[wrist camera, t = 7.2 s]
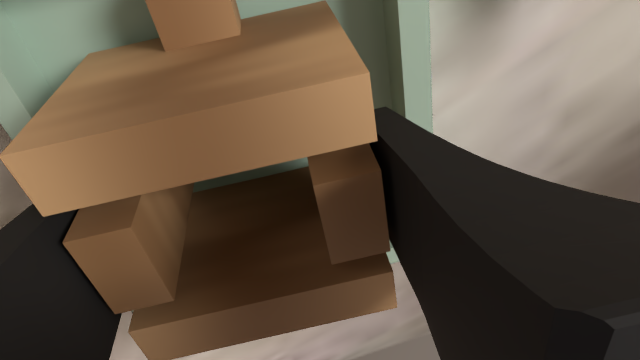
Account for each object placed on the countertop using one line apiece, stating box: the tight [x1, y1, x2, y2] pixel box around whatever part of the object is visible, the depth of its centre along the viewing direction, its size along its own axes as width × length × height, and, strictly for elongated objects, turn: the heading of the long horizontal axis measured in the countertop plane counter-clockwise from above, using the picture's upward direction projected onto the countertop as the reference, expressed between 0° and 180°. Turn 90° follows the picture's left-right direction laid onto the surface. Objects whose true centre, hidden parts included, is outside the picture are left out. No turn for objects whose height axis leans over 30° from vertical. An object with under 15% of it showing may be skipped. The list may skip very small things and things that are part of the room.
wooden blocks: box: [0, 0, 397, 360], centre depth 9 cm, size 6×7×4 cm
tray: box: [0, 0, 433, 313], centre depth 12 cm, size 10×11×2 cm
